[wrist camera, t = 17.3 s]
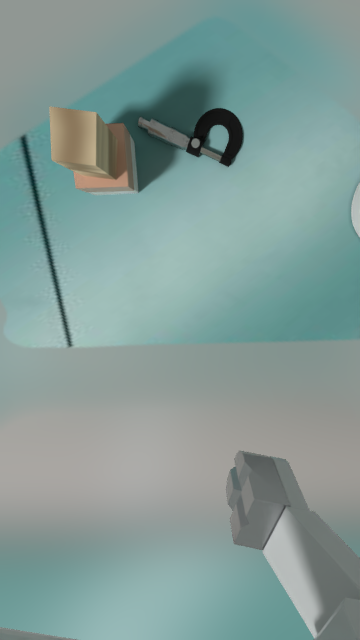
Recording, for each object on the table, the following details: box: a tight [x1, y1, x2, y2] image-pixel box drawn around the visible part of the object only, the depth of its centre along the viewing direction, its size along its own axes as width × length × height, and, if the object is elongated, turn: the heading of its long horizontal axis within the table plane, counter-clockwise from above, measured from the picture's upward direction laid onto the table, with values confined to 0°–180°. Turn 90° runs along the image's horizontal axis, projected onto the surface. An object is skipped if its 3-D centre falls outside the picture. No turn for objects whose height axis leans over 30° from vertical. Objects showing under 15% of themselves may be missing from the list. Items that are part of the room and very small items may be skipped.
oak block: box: [50, 107, 118, 180], centre depth 29 cm, size 4×4×8 cm
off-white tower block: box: [88, 136, 139, 195], centre depth 39 cm, size 7×7×4 cm
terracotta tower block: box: [74, 123, 134, 192], centre depth 35 cm, size 7×7×4 cm
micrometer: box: [138, 108, 243, 167], centre depth 38 cm, size 15×7×3 cm, turn 68°
